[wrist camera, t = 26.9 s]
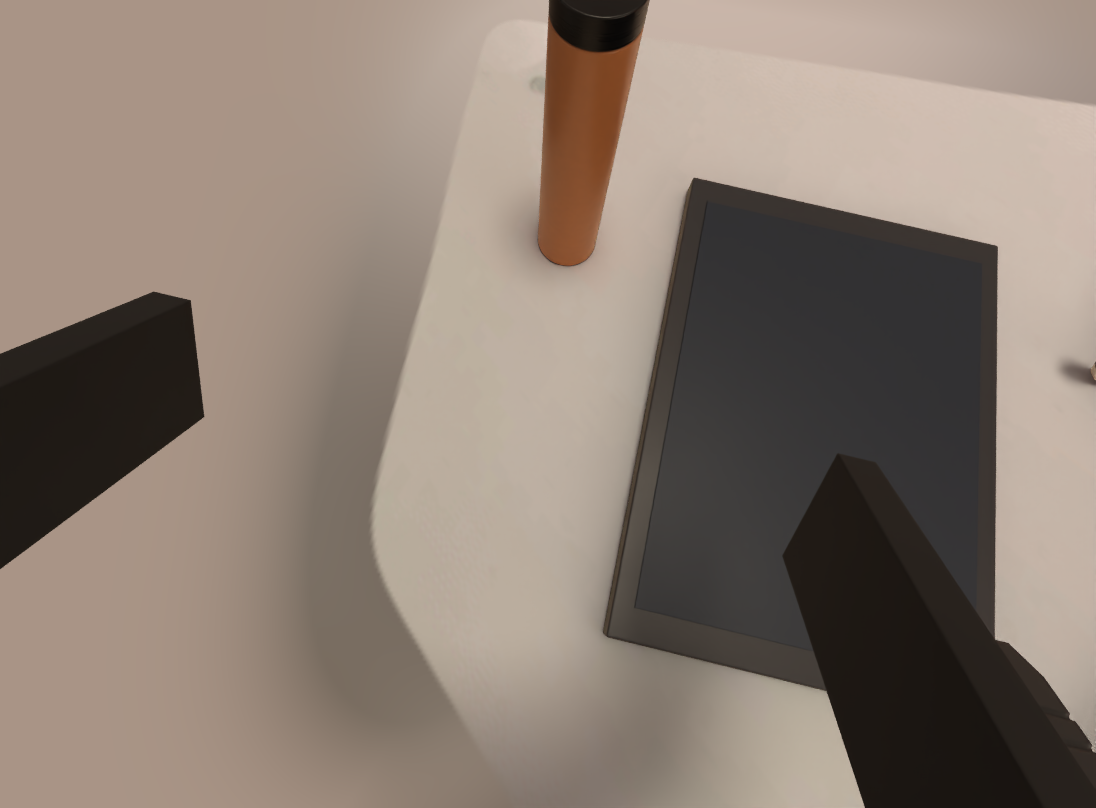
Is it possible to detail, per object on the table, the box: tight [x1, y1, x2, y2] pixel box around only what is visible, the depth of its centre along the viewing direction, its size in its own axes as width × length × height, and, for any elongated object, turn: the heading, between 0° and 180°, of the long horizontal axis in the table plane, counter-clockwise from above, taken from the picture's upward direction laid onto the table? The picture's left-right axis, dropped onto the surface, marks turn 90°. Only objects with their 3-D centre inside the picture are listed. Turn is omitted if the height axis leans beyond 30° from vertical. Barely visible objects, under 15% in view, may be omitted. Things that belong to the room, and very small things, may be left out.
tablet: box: [603, 178, 998, 691], centre depth 23 cm, size 14×20×1 cm
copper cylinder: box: [538, 0, 649, 266], centre depth 20 cm, size 3×3×12 cm
